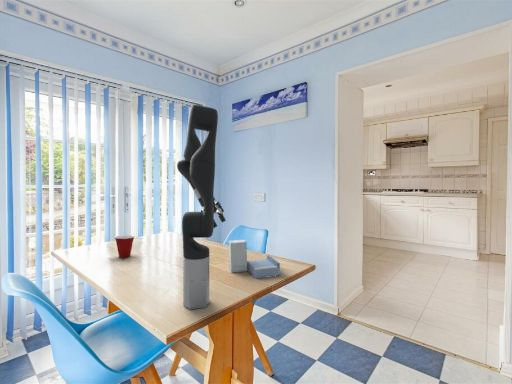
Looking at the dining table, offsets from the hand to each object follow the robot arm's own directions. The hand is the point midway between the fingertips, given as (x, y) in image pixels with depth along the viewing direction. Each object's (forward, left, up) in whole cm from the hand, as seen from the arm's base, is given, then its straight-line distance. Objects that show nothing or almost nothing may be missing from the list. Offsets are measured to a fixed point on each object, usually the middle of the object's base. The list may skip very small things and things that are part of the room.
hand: (219, 224), depth 130 cm
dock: (-8, -20, -23) cm, 31 cm away
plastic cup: (+40, +48, -23) cm, 67 cm away
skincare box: (-2, -9, -23) cm, 25 cm away
